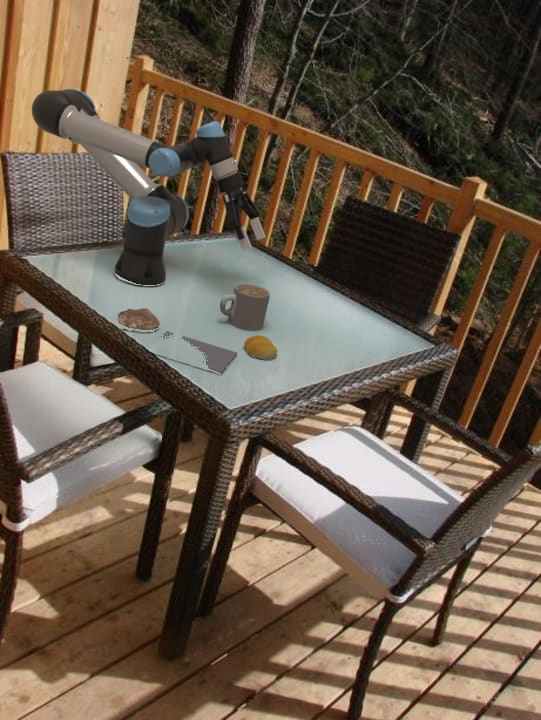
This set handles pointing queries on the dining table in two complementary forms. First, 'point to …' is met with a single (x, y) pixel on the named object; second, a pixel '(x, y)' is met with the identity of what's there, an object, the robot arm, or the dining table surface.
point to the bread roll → (260, 347)
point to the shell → (138, 319)
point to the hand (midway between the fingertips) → (254, 243)
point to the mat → (211, 353)
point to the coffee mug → (246, 306)
